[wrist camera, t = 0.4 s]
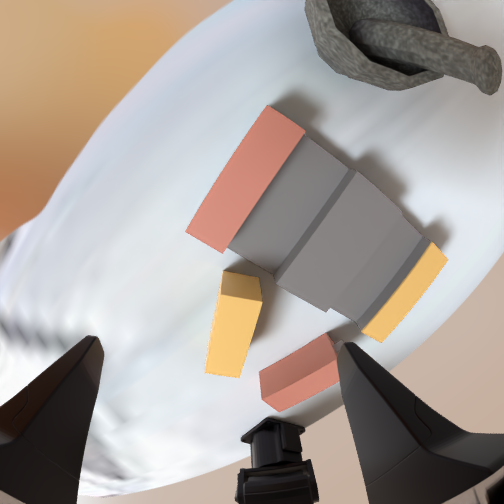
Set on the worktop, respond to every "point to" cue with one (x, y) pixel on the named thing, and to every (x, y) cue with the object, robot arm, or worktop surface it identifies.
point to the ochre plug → (233, 324)
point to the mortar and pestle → (397, 44)
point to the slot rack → (317, 228)
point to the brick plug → (301, 374)
